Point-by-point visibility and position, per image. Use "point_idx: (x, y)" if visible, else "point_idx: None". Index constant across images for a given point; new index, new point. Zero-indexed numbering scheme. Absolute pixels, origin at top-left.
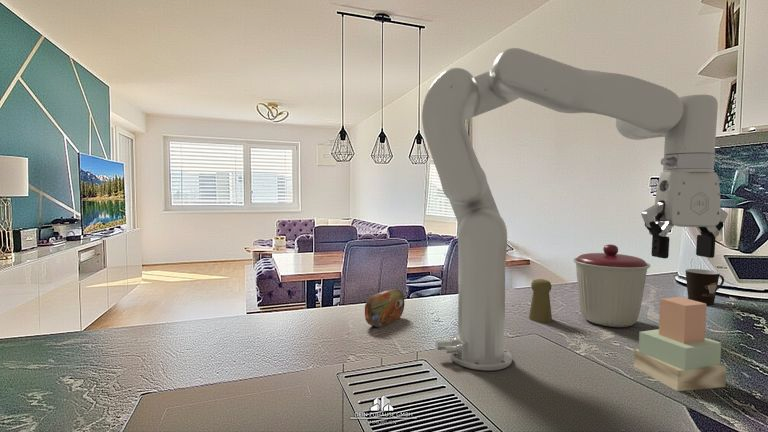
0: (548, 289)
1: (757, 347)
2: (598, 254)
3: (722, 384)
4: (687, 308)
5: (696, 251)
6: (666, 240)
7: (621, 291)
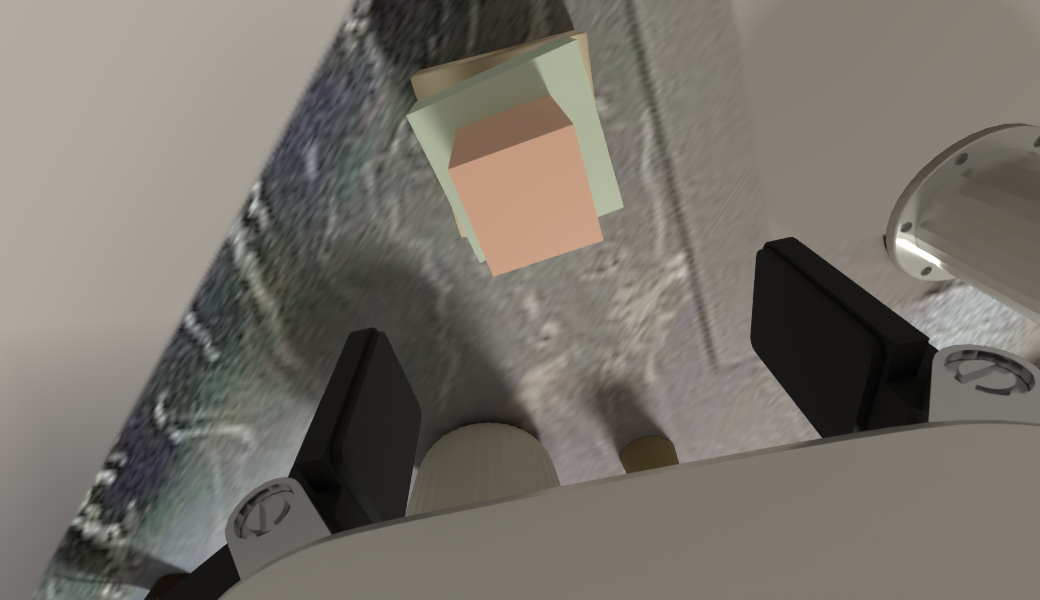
0: None
1: (180, 339)
2: None
3: (426, 69)
4: (559, 125)
5: (418, 427)
6: (897, 314)
7: (494, 498)
